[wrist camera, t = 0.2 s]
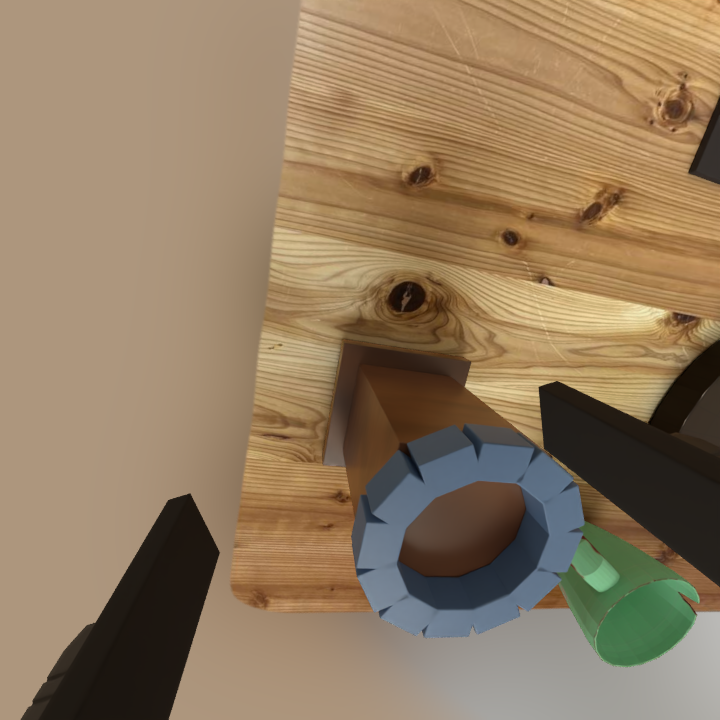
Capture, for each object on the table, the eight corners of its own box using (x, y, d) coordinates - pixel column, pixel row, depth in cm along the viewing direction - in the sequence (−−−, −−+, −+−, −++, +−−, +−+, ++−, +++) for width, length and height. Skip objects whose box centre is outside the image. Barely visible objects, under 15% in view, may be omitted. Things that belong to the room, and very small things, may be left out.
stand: (342, 338, 28) (373, 407, 14) (463, 357, 30) (589, 432, 16) (321, 455, 30) (332, 605, 17) (434, 465, 32) (522, 605, 19)
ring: (377, 412, 14) (386, 432, 13) (584, 435, 16) (617, 455, 15) (336, 602, 17) (339, 640, 15) (520, 602, 19) (541, 635, 17)
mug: (616, 527, 38) (717, 613, 29) (551, 581, 39) (628, 683, 30) (550, 453, 34) (643, 526, 25) (478, 516, 35) (541, 610, 25)
